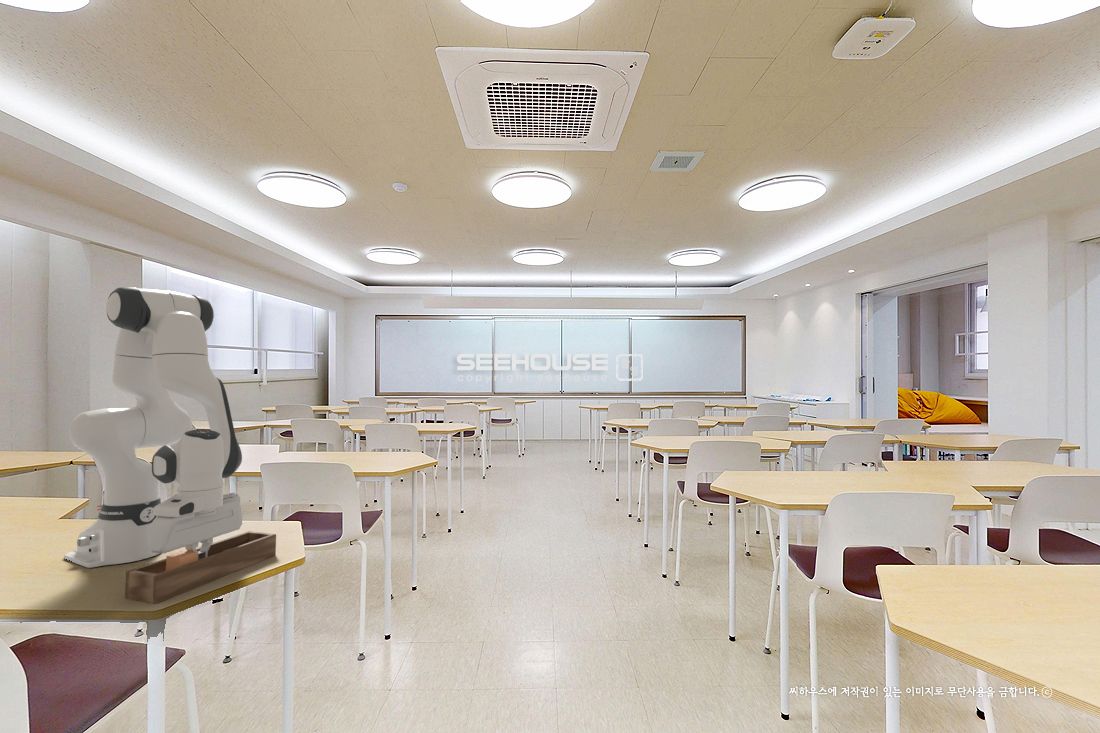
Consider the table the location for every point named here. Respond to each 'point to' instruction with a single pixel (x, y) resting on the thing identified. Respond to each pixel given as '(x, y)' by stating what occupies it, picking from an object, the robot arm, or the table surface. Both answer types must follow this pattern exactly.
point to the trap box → (199, 567)
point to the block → (180, 559)
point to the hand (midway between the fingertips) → (198, 560)
